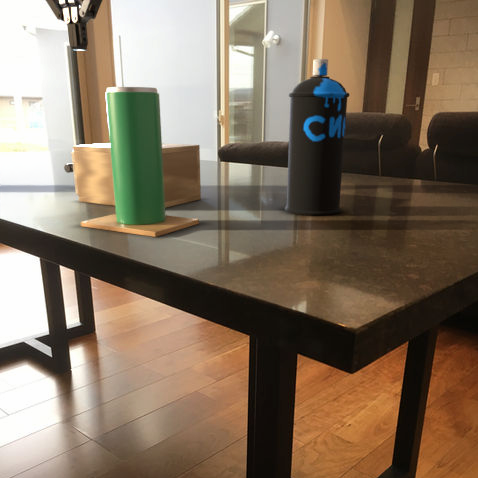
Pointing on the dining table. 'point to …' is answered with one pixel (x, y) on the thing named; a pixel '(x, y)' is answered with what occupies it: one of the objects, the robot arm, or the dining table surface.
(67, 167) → the drawer
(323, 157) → the aerosol can
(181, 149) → the cabinet
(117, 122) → the green can
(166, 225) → the cork mat
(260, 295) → the dining table surface
